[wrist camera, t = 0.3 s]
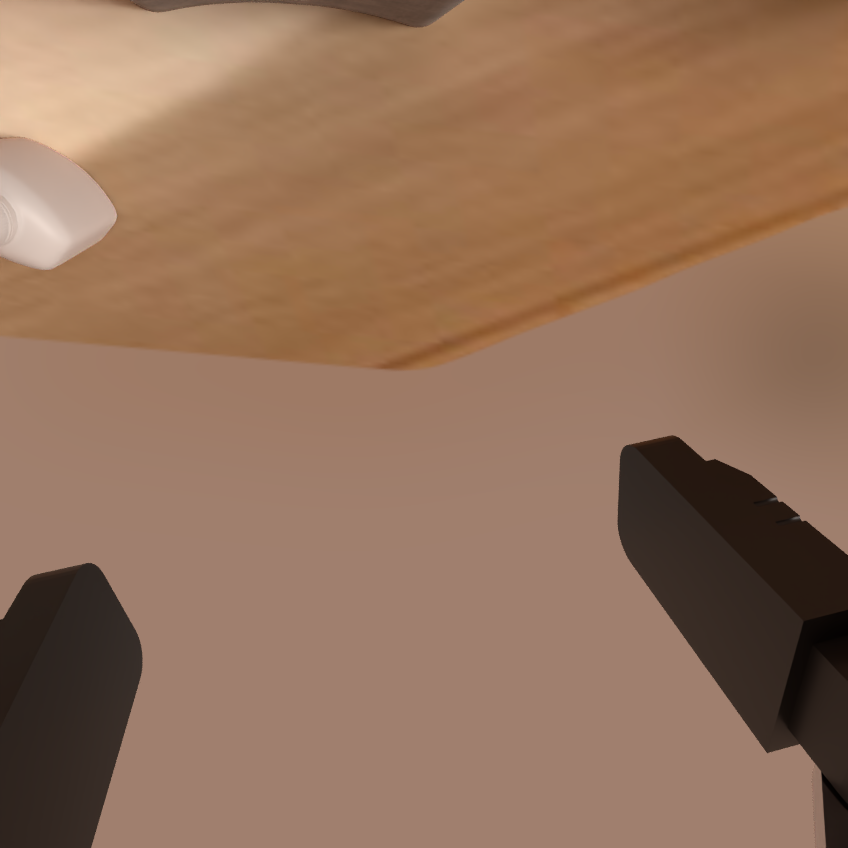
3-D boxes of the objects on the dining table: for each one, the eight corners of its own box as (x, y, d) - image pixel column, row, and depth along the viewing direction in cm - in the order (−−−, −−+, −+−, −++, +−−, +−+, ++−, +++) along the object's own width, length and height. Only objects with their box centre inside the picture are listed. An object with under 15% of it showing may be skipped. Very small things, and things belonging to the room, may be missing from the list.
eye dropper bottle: (52, 254, 32) (-70, 323, 22) (-11, 146, 29) (-186, 164, 19) (129, 231, 32) (44, 288, 22) (73, 121, 29) (-55, 126, 19)
